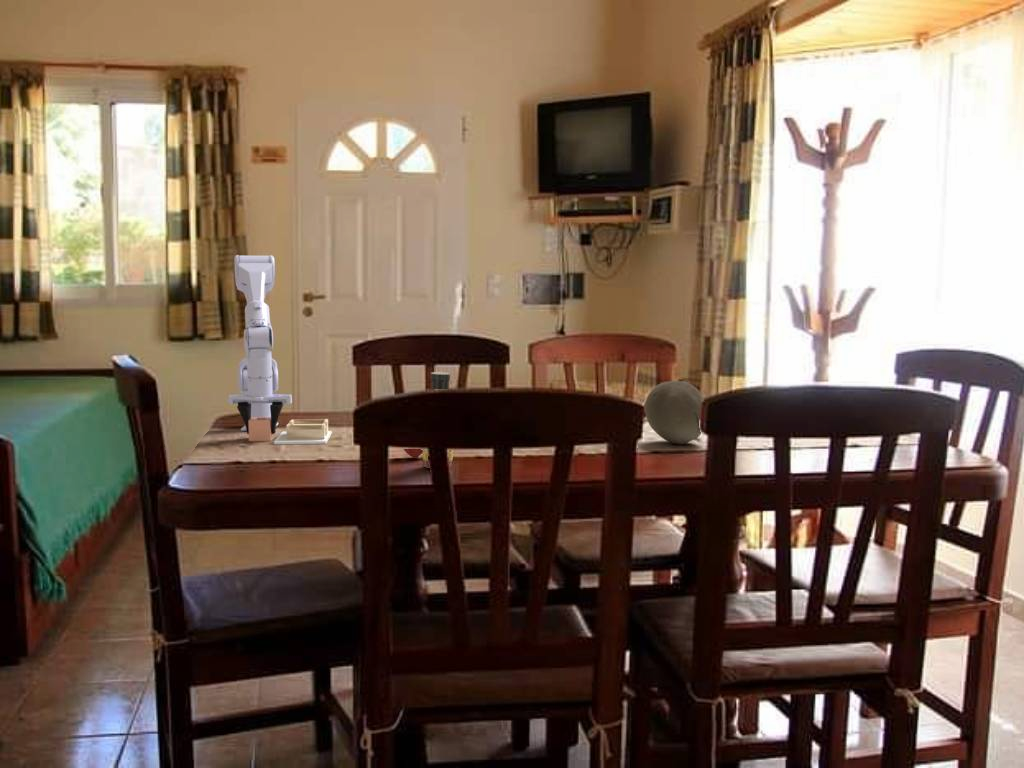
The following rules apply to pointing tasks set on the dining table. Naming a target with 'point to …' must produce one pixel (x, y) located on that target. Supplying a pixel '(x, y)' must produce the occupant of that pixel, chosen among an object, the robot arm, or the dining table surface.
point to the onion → (414, 452)
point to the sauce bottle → (438, 382)
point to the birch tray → (307, 429)
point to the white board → (283, 440)
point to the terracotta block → (260, 429)
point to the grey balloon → (674, 411)
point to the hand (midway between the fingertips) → (261, 433)
